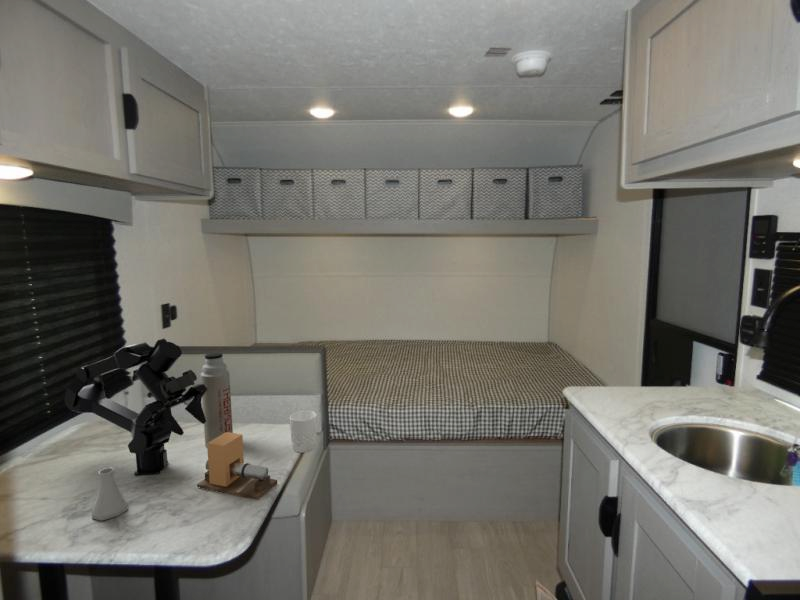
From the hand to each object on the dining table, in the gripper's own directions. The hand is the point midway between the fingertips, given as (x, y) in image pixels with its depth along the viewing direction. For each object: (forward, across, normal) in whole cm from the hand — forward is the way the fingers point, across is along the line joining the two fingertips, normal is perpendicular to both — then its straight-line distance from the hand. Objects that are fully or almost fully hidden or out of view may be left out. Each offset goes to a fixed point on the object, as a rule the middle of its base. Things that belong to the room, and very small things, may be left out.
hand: (194, 428), depth 119 cm
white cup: (+22, +24, -3) cm, 33 cm away
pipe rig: (+18, 0, 0) cm, 18 cm away
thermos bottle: (+4, +19, +16) cm, 25 cm away
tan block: (+15, 0, +2) cm, 15 cm away
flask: (+4, -18, +15) cm, 24 cm away
